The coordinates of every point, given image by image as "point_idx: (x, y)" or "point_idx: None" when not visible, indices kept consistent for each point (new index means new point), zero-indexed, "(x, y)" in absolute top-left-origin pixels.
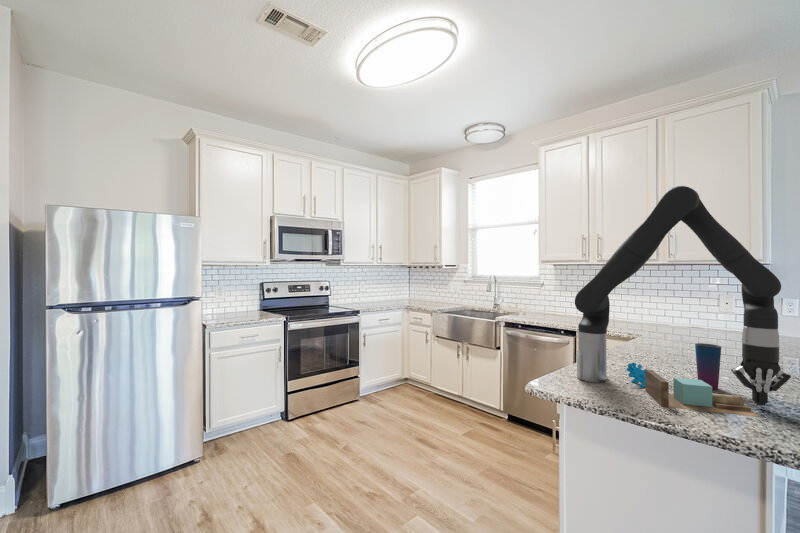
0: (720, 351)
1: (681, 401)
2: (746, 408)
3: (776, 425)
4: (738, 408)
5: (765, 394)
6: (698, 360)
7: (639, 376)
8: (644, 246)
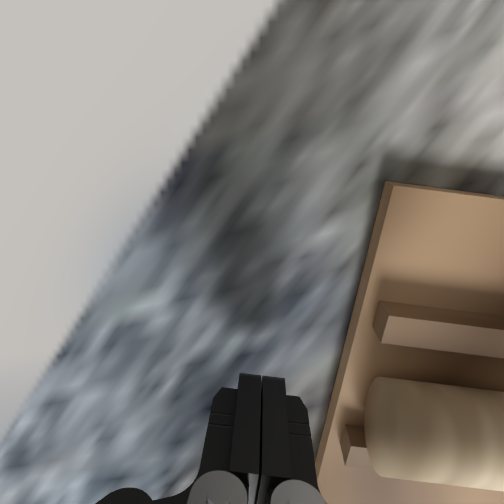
0: None
1: None
2: (419, 315)
3: (361, 69)
4: (470, 319)
5: (231, 453)
6: None
7: None
8: None
